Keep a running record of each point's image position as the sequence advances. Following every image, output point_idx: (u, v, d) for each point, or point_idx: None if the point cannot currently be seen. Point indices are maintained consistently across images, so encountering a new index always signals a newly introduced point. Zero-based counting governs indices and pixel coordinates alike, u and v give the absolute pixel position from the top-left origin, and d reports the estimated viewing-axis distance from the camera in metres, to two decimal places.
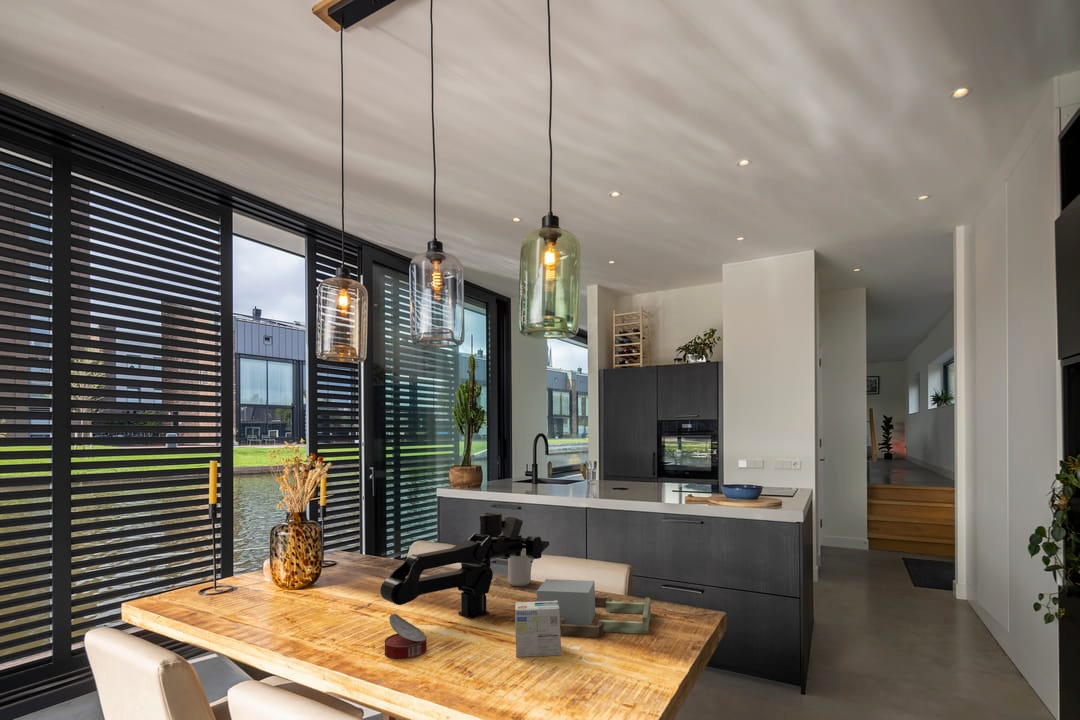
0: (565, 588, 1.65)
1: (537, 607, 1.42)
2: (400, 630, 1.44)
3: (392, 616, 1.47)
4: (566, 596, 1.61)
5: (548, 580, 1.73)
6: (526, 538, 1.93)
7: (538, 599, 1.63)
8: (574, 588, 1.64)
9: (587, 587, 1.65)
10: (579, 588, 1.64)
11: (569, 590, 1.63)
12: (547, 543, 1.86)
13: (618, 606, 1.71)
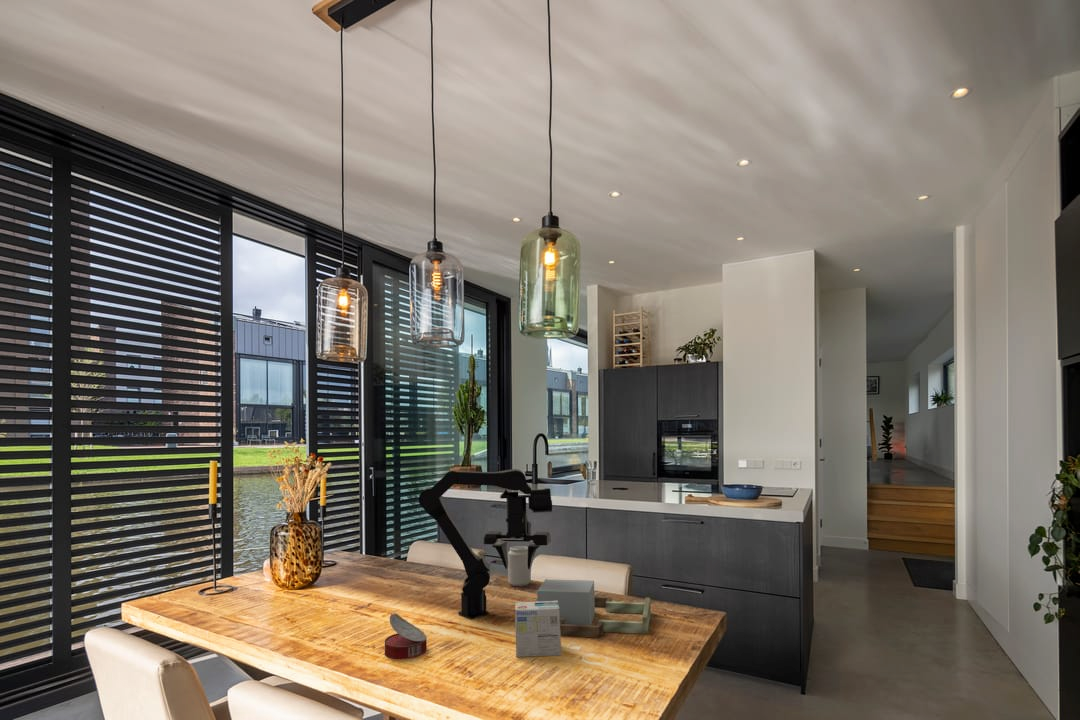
0: (565, 588, 1.65)
1: (537, 607, 1.42)
2: (400, 629, 1.44)
3: (392, 616, 1.47)
4: (566, 596, 1.61)
5: (548, 580, 1.73)
6: (507, 562, 1.76)
7: (538, 599, 1.63)
8: (574, 588, 1.65)
9: (587, 587, 1.65)
10: (579, 588, 1.64)
11: (569, 590, 1.63)
12: (530, 565, 1.74)
13: (618, 606, 1.71)
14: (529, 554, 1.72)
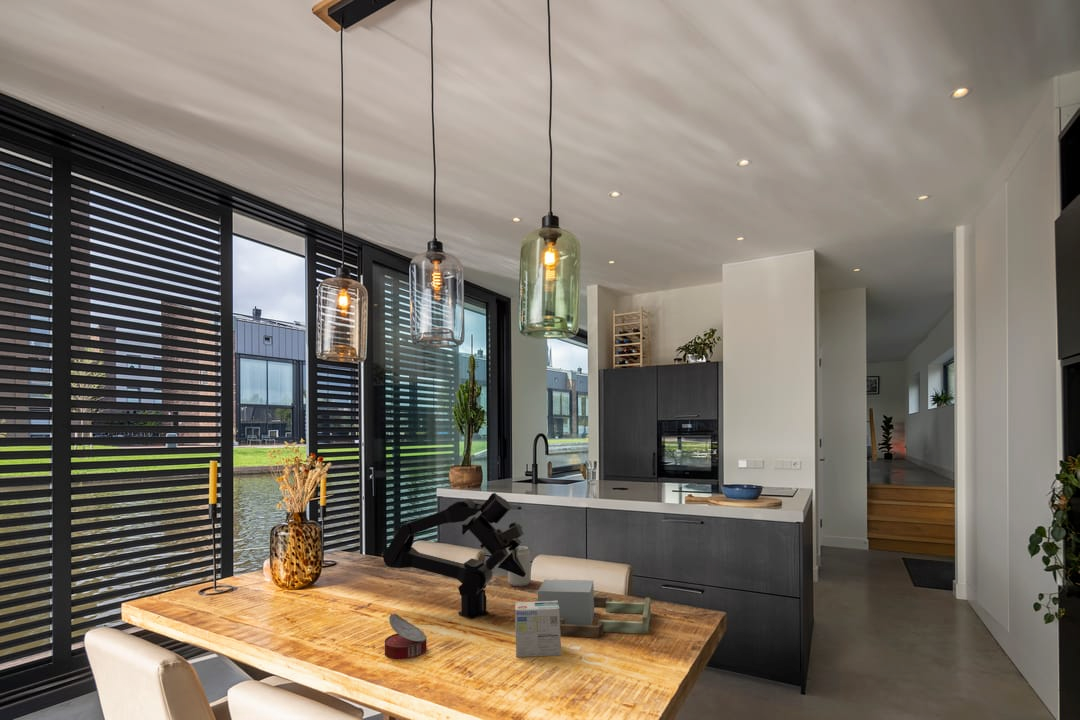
0: (566, 588, 1.65)
1: (537, 607, 1.42)
2: (400, 630, 1.44)
3: (392, 616, 1.47)
4: (567, 596, 1.61)
5: (547, 580, 1.73)
6: (523, 569, 1.70)
7: (539, 599, 1.62)
8: (575, 588, 1.65)
9: (587, 587, 1.65)
10: (580, 588, 1.65)
11: (570, 590, 1.63)
12: (521, 573, 1.70)
13: (618, 606, 1.71)
14: None
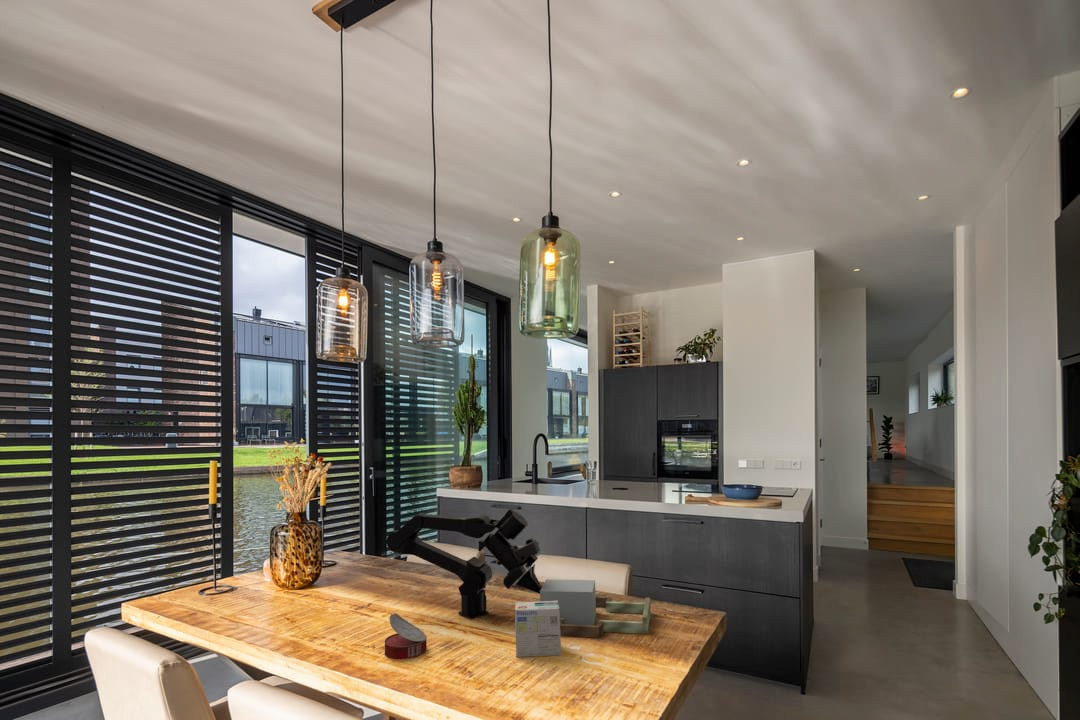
0: (568, 588, 1.65)
1: (537, 607, 1.42)
2: (400, 630, 1.44)
3: (392, 616, 1.47)
4: (569, 595, 1.61)
5: (549, 580, 1.73)
6: (540, 586, 1.69)
7: (541, 599, 1.62)
8: (577, 588, 1.65)
9: (589, 586, 1.65)
10: (582, 588, 1.64)
11: (572, 590, 1.63)
12: (539, 590, 1.68)
13: (618, 606, 1.71)
14: None
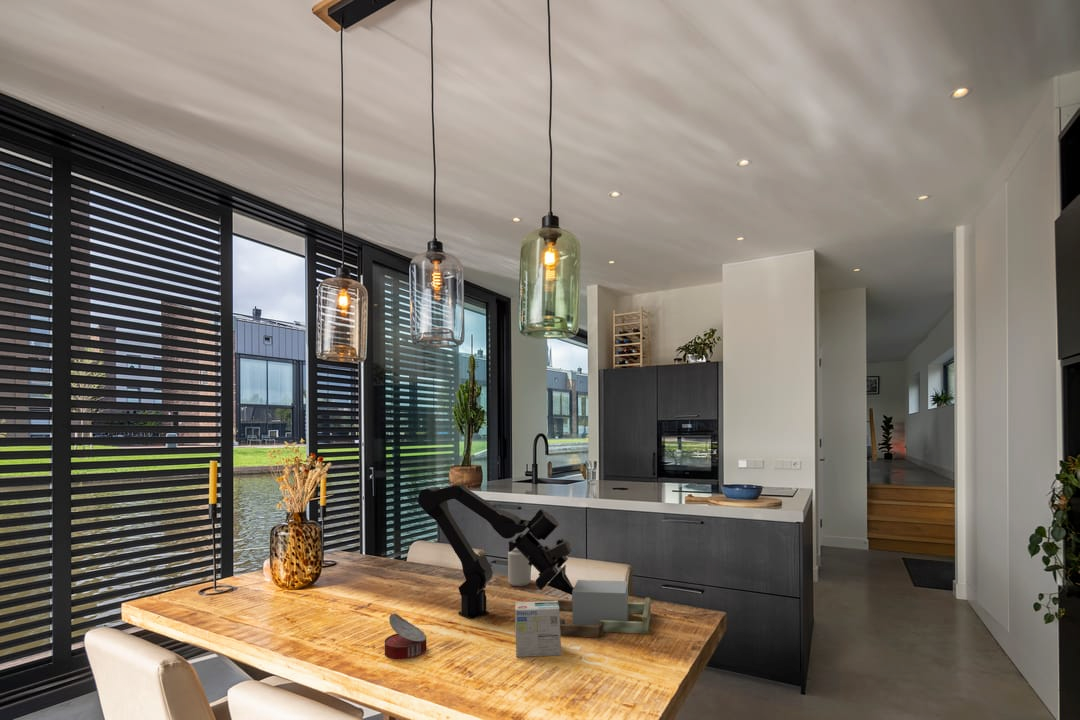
0: (600, 589, 1.63)
1: (537, 607, 1.42)
2: (400, 630, 1.44)
3: (392, 616, 1.47)
4: (602, 596, 1.60)
5: (580, 581, 1.71)
6: (572, 587, 1.67)
7: (573, 600, 1.61)
8: (609, 589, 1.63)
9: (622, 588, 1.63)
10: (614, 589, 1.63)
11: (605, 591, 1.61)
12: (571, 591, 1.66)
13: None
14: None
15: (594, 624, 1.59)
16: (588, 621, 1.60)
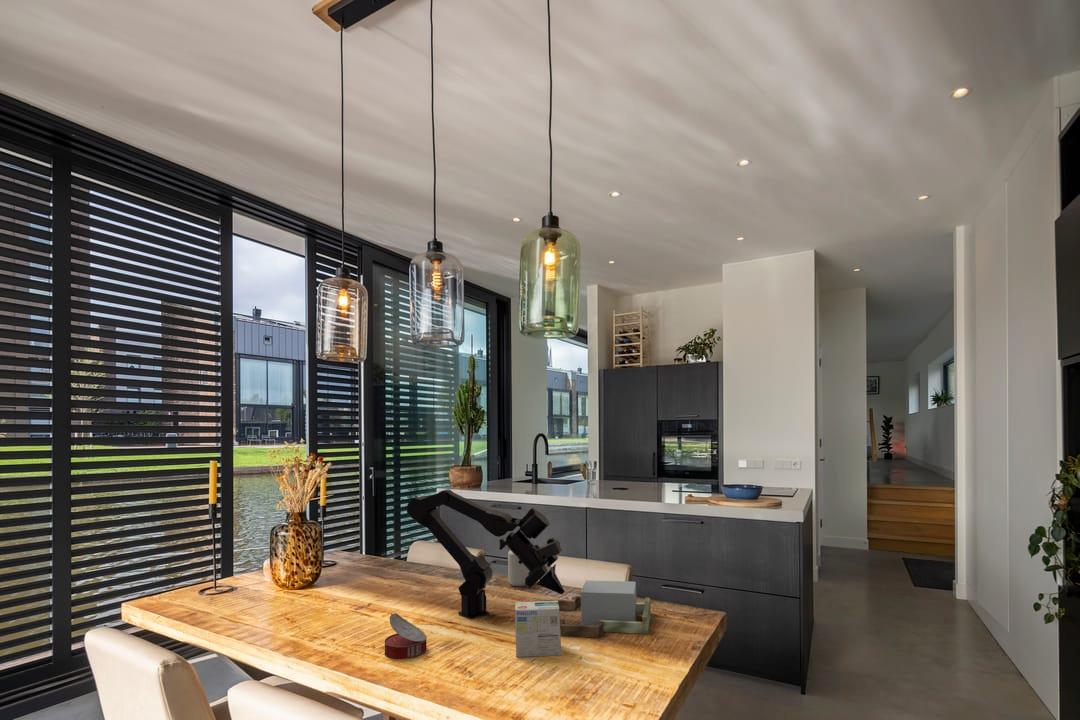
0: (609, 589, 1.63)
1: (537, 607, 1.42)
2: (400, 630, 1.44)
3: (392, 616, 1.47)
4: (610, 597, 1.59)
5: (588, 581, 1.71)
6: (561, 587, 1.68)
7: (582, 601, 1.60)
8: (618, 589, 1.62)
9: (631, 588, 1.63)
10: (623, 589, 1.62)
11: (613, 591, 1.61)
12: (560, 590, 1.67)
13: None
14: None
15: None
16: (597, 622, 1.59)
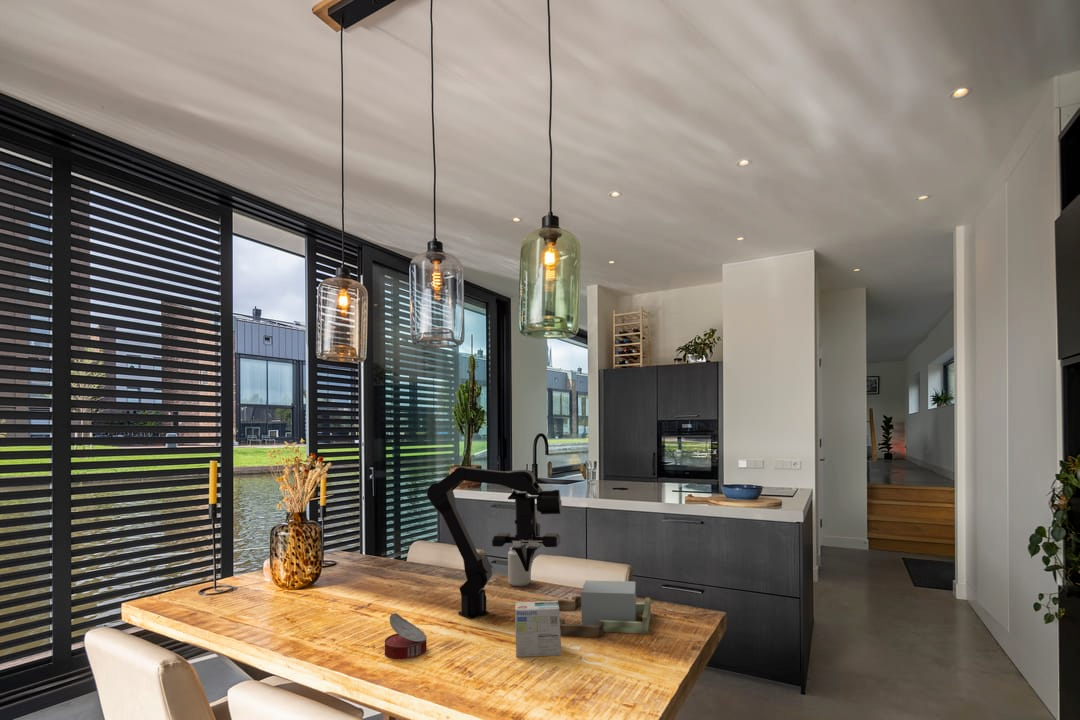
0: (609, 589, 1.63)
1: (537, 607, 1.42)
2: (400, 630, 1.44)
3: (392, 616, 1.47)
4: (611, 597, 1.59)
5: (588, 581, 1.71)
6: None
7: (582, 601, 1.60)
8: (618, 589, 1.62)
9: (631, 588, 1.63)
10: (623, 589, 1.62)
11: (614, 591, 1.61)
12: (529, 567, 1.72)
13: None
14: (528, 556, 1.70)
15: None
16: (597, 622, 1.59)
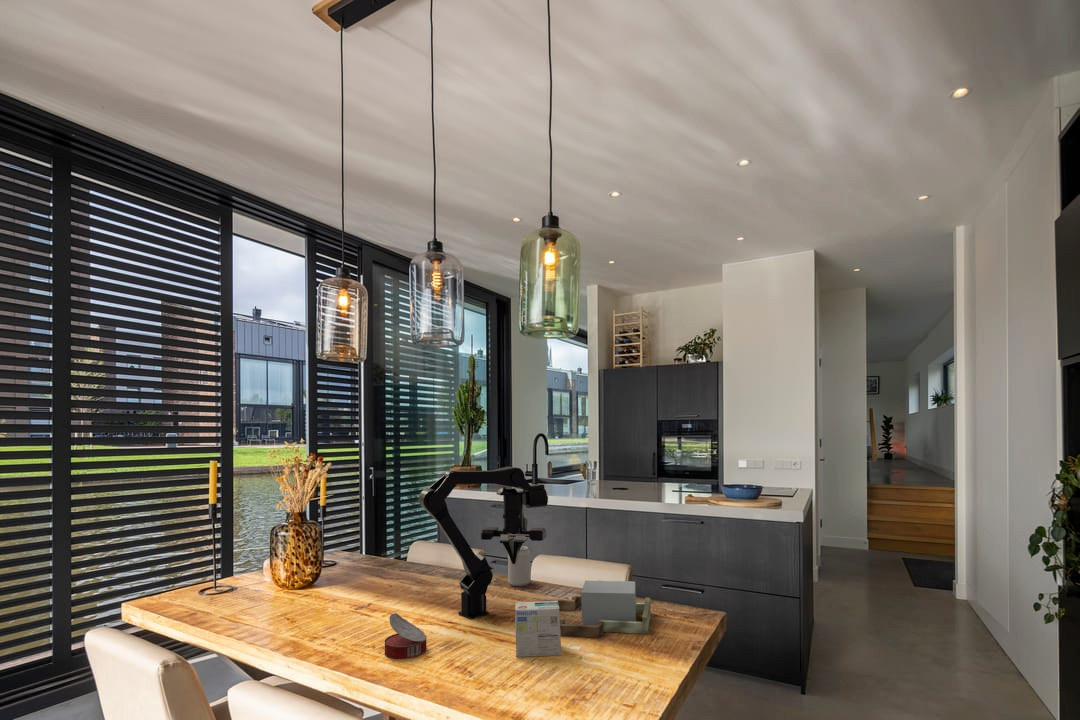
0: (609, 589, 1.63)
1: (537, 607, 1.42)
2: (400, 629, 1.44)
3: (392, 616, 1.47)
4: (611, 597, 1.59)
5: (588, 581, 1.71)
6: None
7: (582, 601, 1.60)
8: (618, 589, 1.62)
9: (631, 588, 1.63)
10: (623, 589, 1.62)
11: (614, 591, 1.61)
12: (516, 559, 1.79)
13: None
14: (515, 549, 1.77)
15: None
16: None
